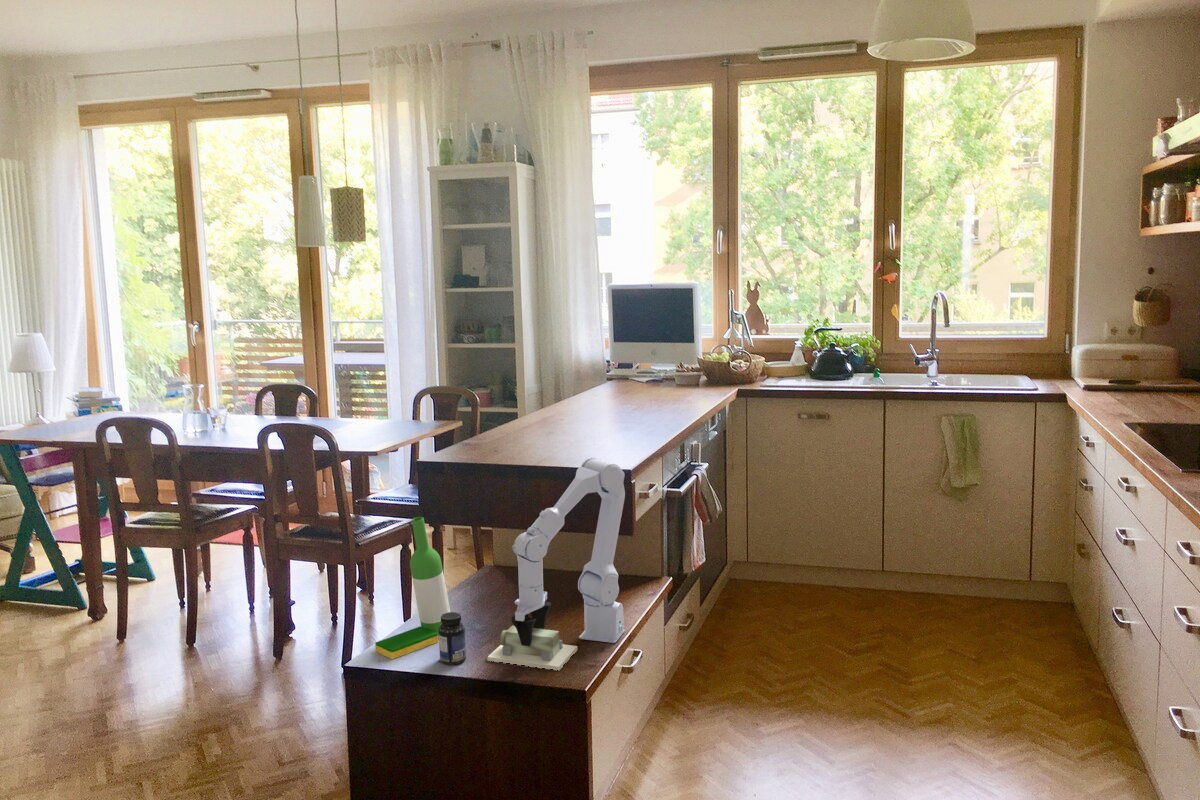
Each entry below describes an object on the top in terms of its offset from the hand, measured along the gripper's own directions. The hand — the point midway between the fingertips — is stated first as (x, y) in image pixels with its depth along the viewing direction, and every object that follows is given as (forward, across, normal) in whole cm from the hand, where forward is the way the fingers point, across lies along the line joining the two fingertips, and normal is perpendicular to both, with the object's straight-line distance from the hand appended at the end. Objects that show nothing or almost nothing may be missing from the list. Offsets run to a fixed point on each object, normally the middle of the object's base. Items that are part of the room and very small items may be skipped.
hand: (532, 639), depth 231 cm
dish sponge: (+4, +4, -31) cm, 32 cm away
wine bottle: (+4, -6, -29) cm, 30 cm away
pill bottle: (+4, +8, -17) cm, 19 cm away
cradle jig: (+4, 0, 0) cm, 4 cm away
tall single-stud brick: (+3, 0, 0) cm, 3 cm away
